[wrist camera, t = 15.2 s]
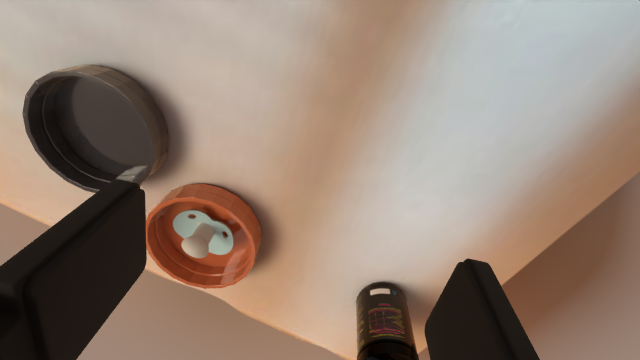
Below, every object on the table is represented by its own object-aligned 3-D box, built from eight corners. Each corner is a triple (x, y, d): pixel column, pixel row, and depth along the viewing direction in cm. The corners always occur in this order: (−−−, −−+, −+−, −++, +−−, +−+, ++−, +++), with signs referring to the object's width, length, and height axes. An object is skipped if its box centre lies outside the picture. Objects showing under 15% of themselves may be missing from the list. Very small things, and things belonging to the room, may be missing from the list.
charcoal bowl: (170, 81, 35) (153, 89, 32) (169, 190, 41) (154, 206, 38) (41, 50, 34) (10, 55, 31) (59, 165, 40) (34, 179, 37)
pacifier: (223, 257, 45) (244, 227, 42) (204, 294, 39) (227, 262, 37) (171, 229, 43) (189, 196, 41) (144, 264, 38) (162, 229, 35)
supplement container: (362, 320, 48) (365, 395, 39) (350, 284, 46) (350, 357, 36) (410, 313, 47) (425, 389, 38) (401, 276, 44) (415, 349, 35)
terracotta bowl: (269, 196, 40) (262, 213, 37) (254, 278, 46) (247, 297, 43) (158, 171, 40) (142, 185, 37) (158, 256, 46) (144, 275, 43)
